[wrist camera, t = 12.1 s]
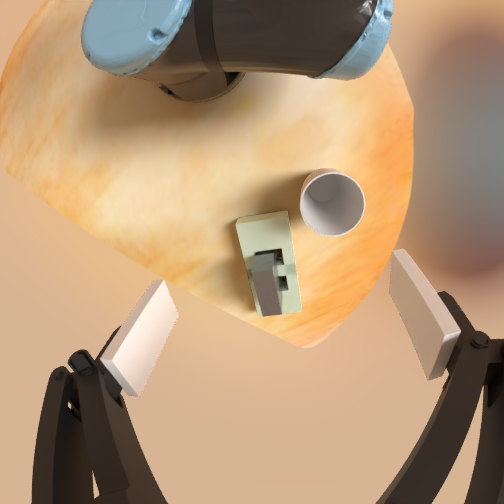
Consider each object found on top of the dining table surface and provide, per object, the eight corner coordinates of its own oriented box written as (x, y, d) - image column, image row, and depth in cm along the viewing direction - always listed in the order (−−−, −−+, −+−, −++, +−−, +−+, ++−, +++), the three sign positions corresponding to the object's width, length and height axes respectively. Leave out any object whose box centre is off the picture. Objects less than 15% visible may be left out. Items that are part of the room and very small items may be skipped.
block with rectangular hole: (238, 217, 44) (235, 224, 41) (287, 210, 42) (287, 216, 40) (259, 306, 51) (258, 316, 49) (301, 301, 50) (301, 311, 47)
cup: (322, 221, 42) (331, 248, 34) (285, 186, 41) (285, 205, 32) (358, 187, 39) (377, 206, 30) (322, 149, 37) (334, 158, 28)
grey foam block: (257, 244, 46) (251, 272, 38) (274, 241, 45) (272, 269, 37) (266, 284, 49) (262, 316, 41) (283, 282, 48) (281, 314, 40)
